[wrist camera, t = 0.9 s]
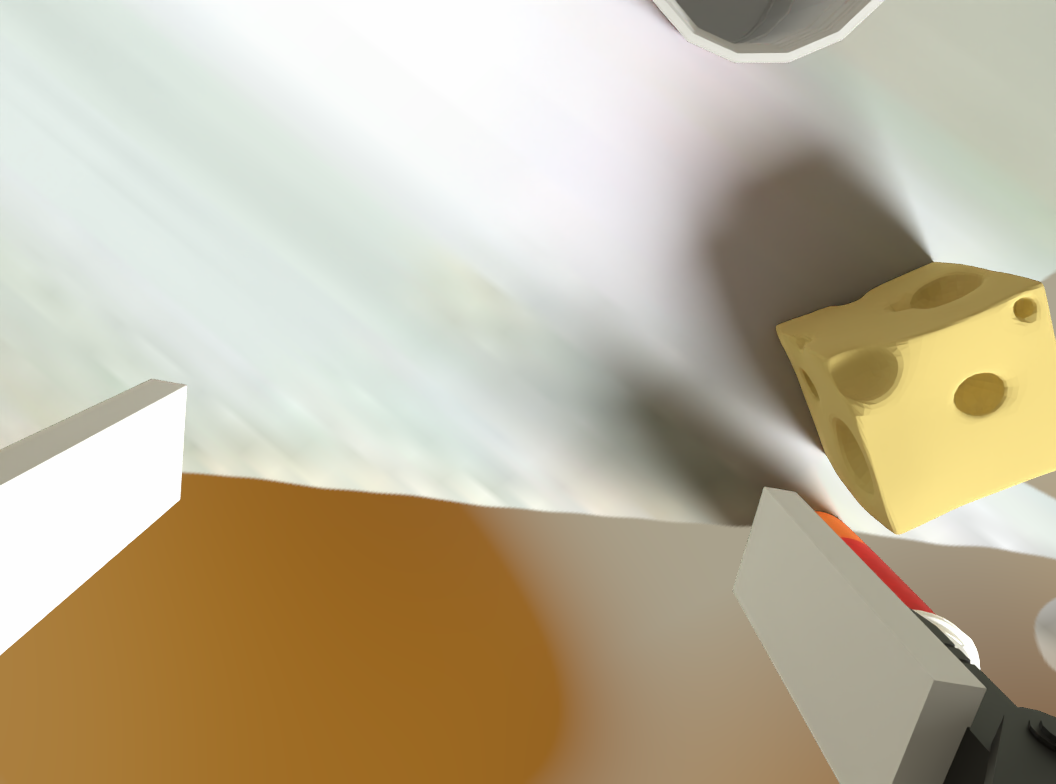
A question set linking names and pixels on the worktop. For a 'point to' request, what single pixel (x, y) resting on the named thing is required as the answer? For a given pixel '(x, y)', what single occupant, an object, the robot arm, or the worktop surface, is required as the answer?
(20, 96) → the worktop surface
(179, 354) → the worktop surface
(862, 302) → the cheese
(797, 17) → the plastic cup
